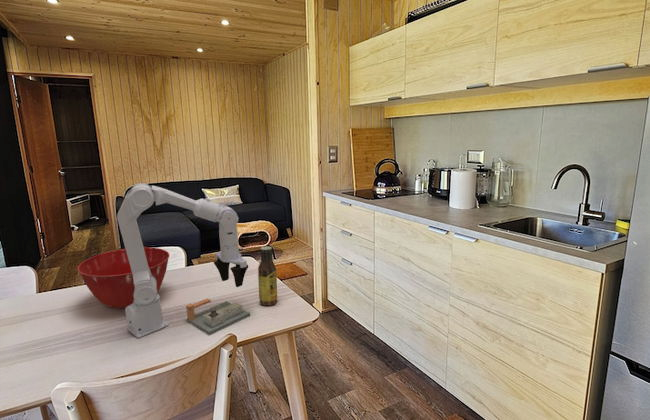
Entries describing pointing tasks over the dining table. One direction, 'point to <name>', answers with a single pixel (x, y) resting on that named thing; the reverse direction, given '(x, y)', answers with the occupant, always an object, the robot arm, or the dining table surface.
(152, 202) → the robot arm
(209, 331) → the base
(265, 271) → the sauce bottle
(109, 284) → the mixing bowl
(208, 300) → the bracket
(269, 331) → the dining table surface
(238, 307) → the latch
